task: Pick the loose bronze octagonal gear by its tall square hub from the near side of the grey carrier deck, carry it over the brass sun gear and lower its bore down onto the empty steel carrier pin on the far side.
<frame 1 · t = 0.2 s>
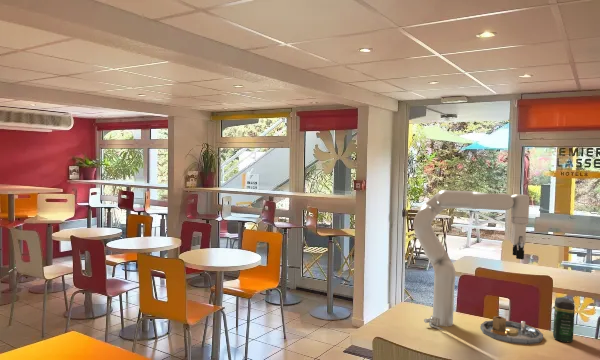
hand: (518, 257, 217), 36 cm above the table, tool pointing down, fingers open, 9 cm apart
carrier: (510, 336, 214), on the table
coffee jar: (562, 339, 213), on the table
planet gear: (498, 335, 211), point 1 cm above the table, touching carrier
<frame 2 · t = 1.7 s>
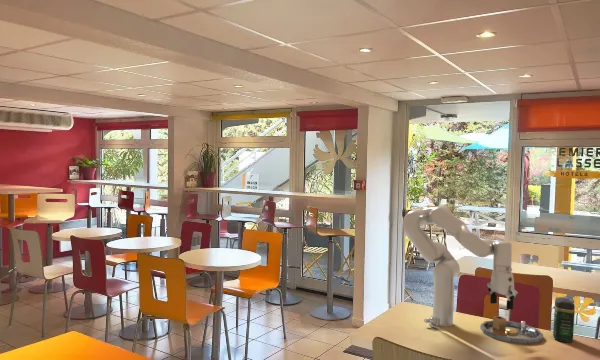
hand: (501, 306, 211), 15 cm above the table, tool pointing down, fingers open, 9 cm apart
nothing on the table moved.
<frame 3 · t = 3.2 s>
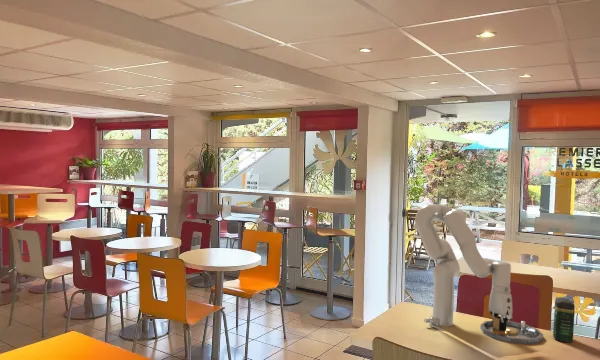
hand: (499, 328, 211), 5 cm above the table, tool pointing down, fingers closed on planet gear, 3 cm apart
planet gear: (498, 335, 211), point 2 cm above the table, touching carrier, gripper
everything else where it was.
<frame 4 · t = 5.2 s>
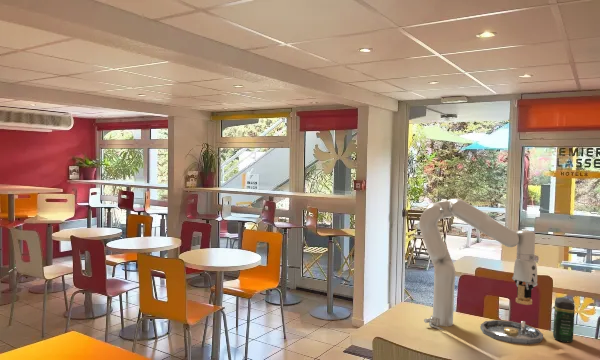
hand: (524, 296, 216), 19 cm above the table, tool pointing down, fingers closed on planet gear, 3 cm apart
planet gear: (523, 302, 216), point 16 cm above the table, touching gripper
everything else where it was.
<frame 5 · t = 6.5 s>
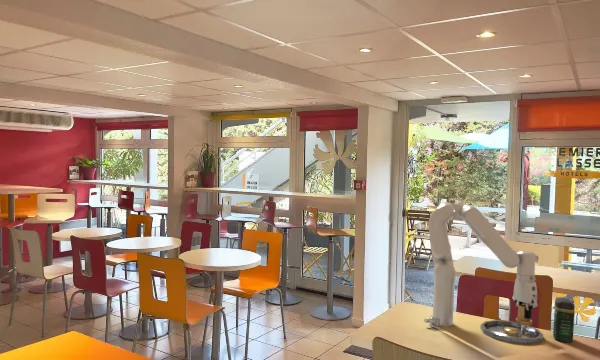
hand: (523, 316, 216), 9 cm above the table, tool pointing down, fingers closed on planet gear, 3 cm apart
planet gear: (523, 322, 216), point 6 cm above the table, touching gripper
everything else where it was.
when the fingers open (6 cm above the table, at t = 7.3 s): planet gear drops 1 cm, resting on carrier.
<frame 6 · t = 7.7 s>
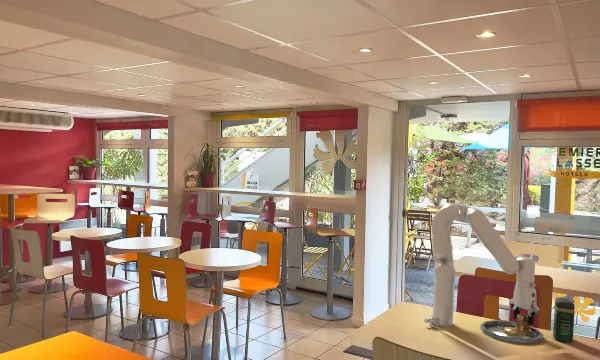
hand: (523, 321, 216), 7 cm above the table, tool pointing down, fingers open, 7 cm apart
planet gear: (522, 332, 216), point 1 cm above the table, touching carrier
everything else where it was.
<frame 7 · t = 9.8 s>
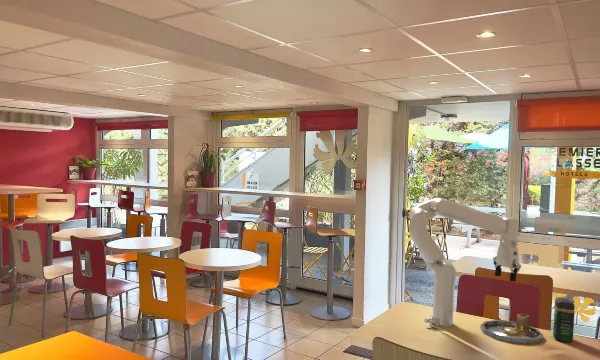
hand: (505, 278, 223), 25 cm above the table, tool pointing down, fingers open, 9 cm apart
nothing on the table moved.
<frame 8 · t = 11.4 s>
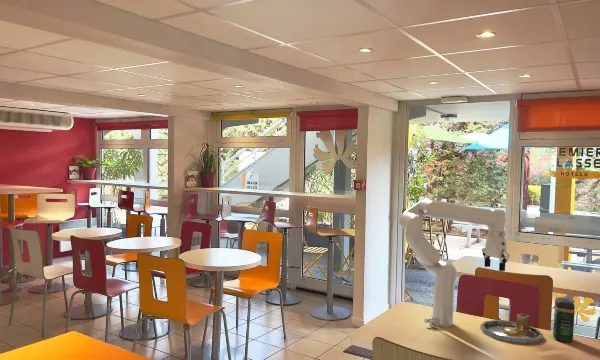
hand: (494, 268, 228), 28 cm above the table, tool pointing down, fingers open, 9 cm apart
nothing on the table moved.
at the end: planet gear 0.1 cm from the target spot on the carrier, point 1.5 cm above the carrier's base; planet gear tilted 0°; the gripper is holding nothing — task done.
